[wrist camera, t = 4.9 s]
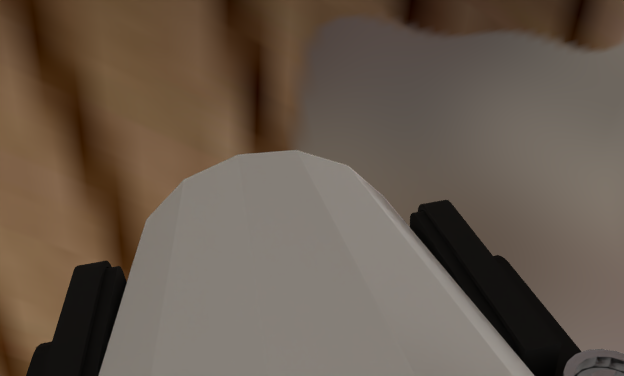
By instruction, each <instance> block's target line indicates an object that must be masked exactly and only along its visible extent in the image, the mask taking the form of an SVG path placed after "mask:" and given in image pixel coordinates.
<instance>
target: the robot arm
mask: <svg viewBox="0 0 624 376" xmlns="http://www.w3.org/2000/svg"><path fill="white" fill-rule="evenodd" d="M410 228H411V229H412V231H413V232H414V233H415V234H416V235H417V236H418V238H419V239H420V240H421V241H422V242H423V244H424V245H425V246H426V247H427V248H428V250H429V251H430V252H431V253H432V254H433V255H434V257H435V258H436V259H437V260H438V261H439V263H440V264H441V265H442V266H443V267H444V269H445V270H446V271H447V272H448V273H449V274H450V276H451V277H452V278H453V279H454V280H455V282H456V283H457V284H458V285H459V286H460V288H461V289H462V290H463V291H464V292H465V294H466V295H467V296H468V297H469V298H470V299H471V301H472V302H473V303H474V304H475V305H476V307H477V308H478V309H479V310H480V311H481V313H482V314H483V315H484V316H485V317H486V318H487V320H488V321H489V322H490V323H491V324H492V326H493V327H494V328H495V329H496V330H497V332H498V333H499V334H500V335H501V336H502V337H503V339H504V340H505V341H506V342H507V343H508V345H509V346H510V347H511V348H512V349H513V351H514V352H515V353H516V354H517V355H518V357H519V358H520V359H521V360H522V361H523V362H524V364H525V365H526V366H527V367H528V368H529V370H530V371H531V372H532V373H533V374H534V376H624V354H622V353H620V352H617V351H610V350H604V349H595V350H586V351H583V352H581V351H580V349H579V348H578V347H577V346H576V344H575V343H574V342H573V341H572V340H571V338H570V337H569V336H568V335H567V333H566V332H565V331H564V330H563V329H562V328H561V326H560V325H559V324H558V322H557V321H556V320H555V319H554V318H553V316H552V315H551V314H550V313H549V312H548V310H547V309H546V308H545V307H544V305H543V304H542V303H541V302H540V300H539V299H538V298H537V297H536V295H535V294H534V293H533V292H532V291H531V289H530V288H529V287H528V286H527V284H526V283H525V282H524V281H523V280H522V279H521V277H520V276H519V275H518V273H517V272H516V271H515V270H514V269H513V267H512V266H511V265H510V264H509V262H508V261H507V260H505V259H504V258H503V257H501V256H499V255H497V256H492V254H491V253H490V252H489V250H488V249H487V248H486V247H485V246H484V244H483V243H482V242H481V241H480V239H479V238H478V237H477V235H476V234H475V233H474V231H473V230H472V229H471V228H470V226H469V225H468V224H467V223H466V221H465V220H464V219H463V218H462V216H461V215H460V214H459V213H458V211H457V210H456V209H455V207H454V206H453V205H452V204H451V203H450V202H449V201H448V200H443V201H437V202H432V203H426V204H421V205H420V206H419V208H418V212H416V213H412V214H411V216H410ZM126 284H127V282H126V279H125V276H124V273H123V271H122V269H121V267H120V266H117V267H111V264H110V263H109V262H108V261H102V262H96V263H91V264H85V265H80V266H77V267H75V269H74V271H73V275H72V278H71V281H70V285H69V288H68V291H67V294H66V298H65V301H64V304H63V308H62V311H61V314H60V317H59V321H58V324H57V327H56V331H55V334H54V337H53V341H52V342H48V343H43V344H40V345H39V346H38V347H37V348H36V350H35V352H34V354H33V357H32V360H31V362H30V365H29V368H28V371H27V374H26V376H98V375H99V372H100V369H101V366H102V362H103V359H104V356H105V352H106V349H107V346H108V343H109V339H110V336H111V333H112V329H113V326H114V323H115V320H116V316H117V313H118V310H119V307H120V303H121V300H122V297H123V293H124V290H125V287H126Z"/></svg>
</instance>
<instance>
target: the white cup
mask: <svg viewBox="0 0 624 376" xmlns="http://www.w3.org/2000/svg"><path fill="white" fill-rule="evenodd" d="M98 376H534V374H533V373H532V372H531V371H530V370H529V368H528V367H527V366H526V365H525V364H524V362H523V361H522V360H521V359H520V358H519V357H518V355H517V354H516V353H515V352H514V351H513V349H512V348H511V347H510V346H509V345H508V343H507V342H506V341H505V340H504V339H503V337H502V336H501V335H500V334H499V333H498V332H497V330H496V329H495V328H494V327H493V326H492V324H491V323H490V322H489V321H488V320H487V318H486V317H485V316H484V315H483V314H482V313H481V311H480V310H479V309H478V308H477V307H476V305H475V304H474V303H473V302H472V301H471V299H470V298H469V297H468V296H467V295H466V294H465V292H464V291H463V290H462V289H461V288H460V286H459V285H458V284H457V283H456V282H455V280H454V279H453V278H452V277H451V276H450V274H449V273H448V272H447V271H446V270H445V269H444V267H443V266H442V265H441V264H440V263H439V261H438V260H437V259H436V258H435V257H434V255H433V254H432V253H431V252H430V251H429V250H428V248H427V247H426V246H425V245H424V244H423V242H422V241H421V240H420V239H419V238H418V236H417V235H416V234H415V233H414V232H413V231H412V229H411V228H410V227H409V226H408V225H407V223H406V222H405V221H404V220H403V219H402V217H401V216H400V215H399V214H398V213H397V212H396V210H395V209H394V208H393V207H392V206H391V204H390V203H389V202H388V201H387V200H386V198H385V197H384V196H383V195H382V194H381V193H379V192H378V191H377V190H376V189H375V188H374V187H372V186H371V185H370V184H369V183H368V182H367V181H365V180H364V179H363V178H362V177H361V176H360V175H358V174H357V173H356V172H355V171H354V170H353V169H351V168H350V167H349V166H348V165H345V164H341V163H338V162H335V161H331V160H328V159H325V158H321V157H318V156H315V155H311V154H308V153H305V152H301V151H298V150H291V151H278V152H266V153H253V154H241V155H236V156H234V157H232V158H230V159H227V160H225V161H223V162H221V163H219V164H217V165H214V166H212V167H210V168H208V169H206V170H204V171H201V172H199V173H197V174H195V175H193V176H191V177H189V178H186V179H184V180H183V181H182V182H181V183H180V184H179V185H178V186H177V188H176V189H175V190H174V191H173V192H172V193H171V194H170V195H169V196H168V197H167V198H166V199H165V200H164V201H163V202H162V203H161V205H160V206H159V207H158V208H157V209H156V210H155V211H154V212H153V213H152V214H151V215H150V216H149V217H148V218H147V220H146V223H145V226H144V229H143V233H142V236H141V239H140V242H139V245H138V248H137V251H136V254H135V258H134V261H133V264H132V267H131V270H130V274H129V277H128V280H127V284H126V287H125V290H124V293H123V297H122V300H121V303H120V307H119V310H118V313H117V316H116V320H115V323H114V326H113V329H112V333H111V336H110V339H109V343H108V346H107V349H106V352H105V356H104V359H103V362H102V366H101V369H100V372H99V375H98Z"/></svg>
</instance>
